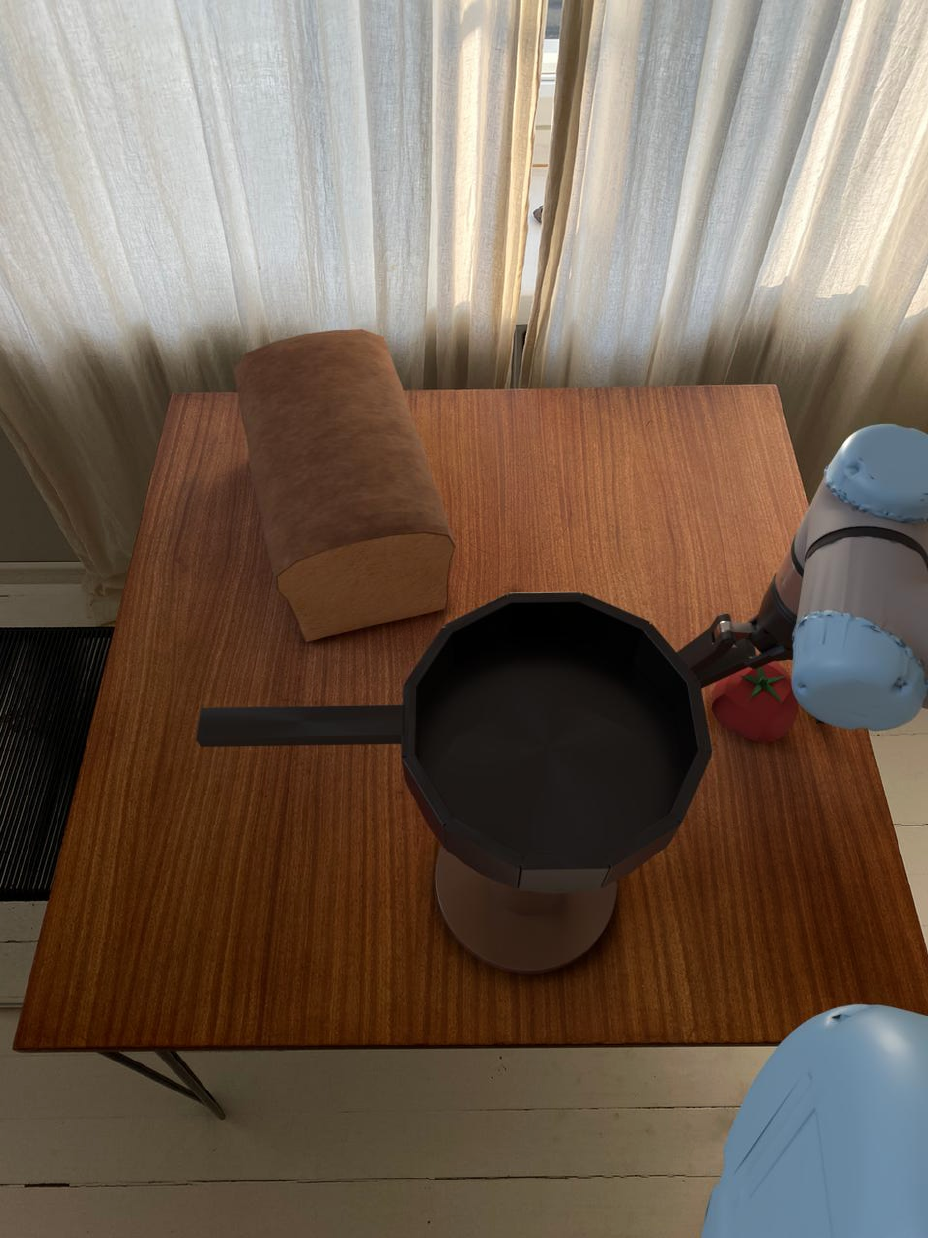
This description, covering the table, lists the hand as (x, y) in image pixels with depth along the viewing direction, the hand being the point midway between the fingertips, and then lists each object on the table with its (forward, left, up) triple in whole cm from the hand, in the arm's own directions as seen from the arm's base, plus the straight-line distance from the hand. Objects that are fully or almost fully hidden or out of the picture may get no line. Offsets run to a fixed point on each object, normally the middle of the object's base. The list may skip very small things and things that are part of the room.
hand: (749, 712), depth 86 cm
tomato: (0, 0, -1) cm, 1 cm away
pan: (-16, +29, 0) cm, 33 cm away
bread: (+25, +41, -1) cm, 48 cm away
